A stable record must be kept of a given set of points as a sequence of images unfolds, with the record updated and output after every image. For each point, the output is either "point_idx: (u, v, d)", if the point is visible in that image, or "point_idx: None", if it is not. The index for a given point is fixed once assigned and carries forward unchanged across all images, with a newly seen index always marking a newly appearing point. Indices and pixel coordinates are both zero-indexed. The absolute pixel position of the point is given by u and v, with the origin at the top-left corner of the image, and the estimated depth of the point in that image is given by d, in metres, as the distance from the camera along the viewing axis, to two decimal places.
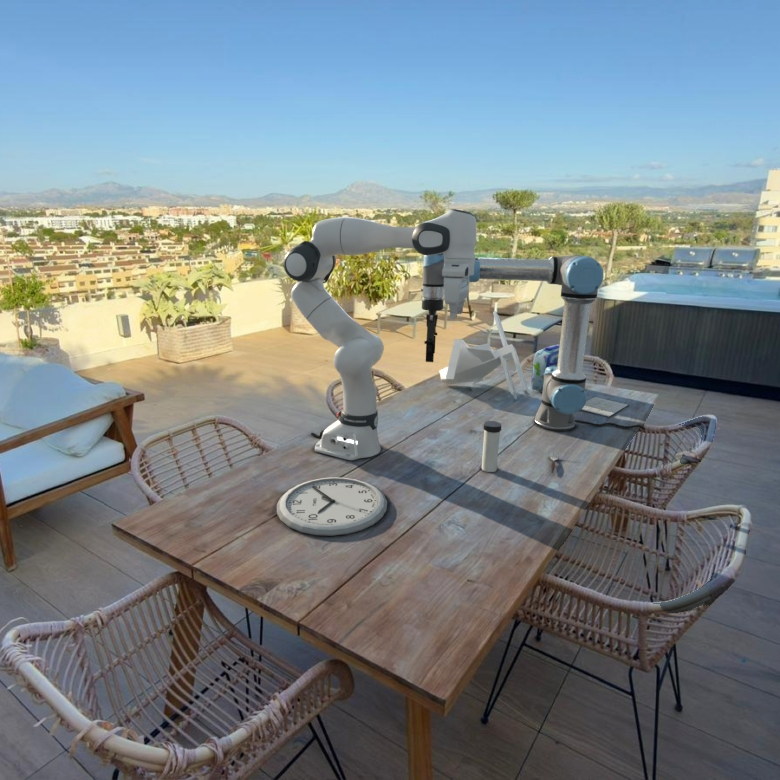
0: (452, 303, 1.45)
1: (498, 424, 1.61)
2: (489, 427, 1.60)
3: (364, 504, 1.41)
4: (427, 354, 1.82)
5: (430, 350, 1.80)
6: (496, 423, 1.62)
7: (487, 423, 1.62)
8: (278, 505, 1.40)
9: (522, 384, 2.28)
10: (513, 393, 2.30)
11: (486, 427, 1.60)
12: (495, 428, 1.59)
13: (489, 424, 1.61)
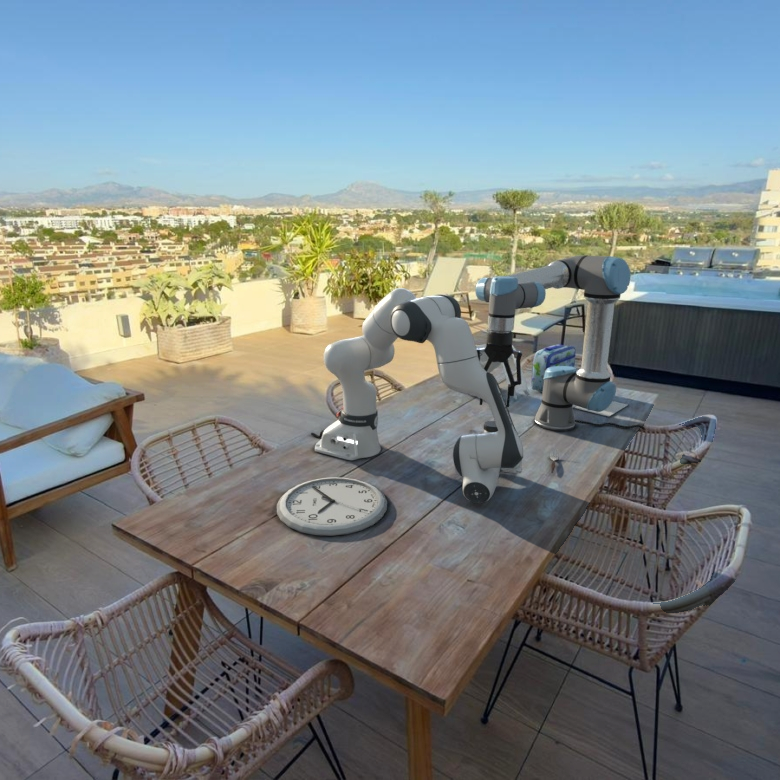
0: None
1: None
2: (489, 427, 1.60)
3: (364, 504, 1.41)
4: None
5: None
6: None
7: (487, 423, 1.62)
8: (278, 505, 1.40)
9: (522, 384, 2.28)
10: None
11: (486, 427, 1.60)
12: (495, 428, 1.59)
13: (489, 424, 1.61)
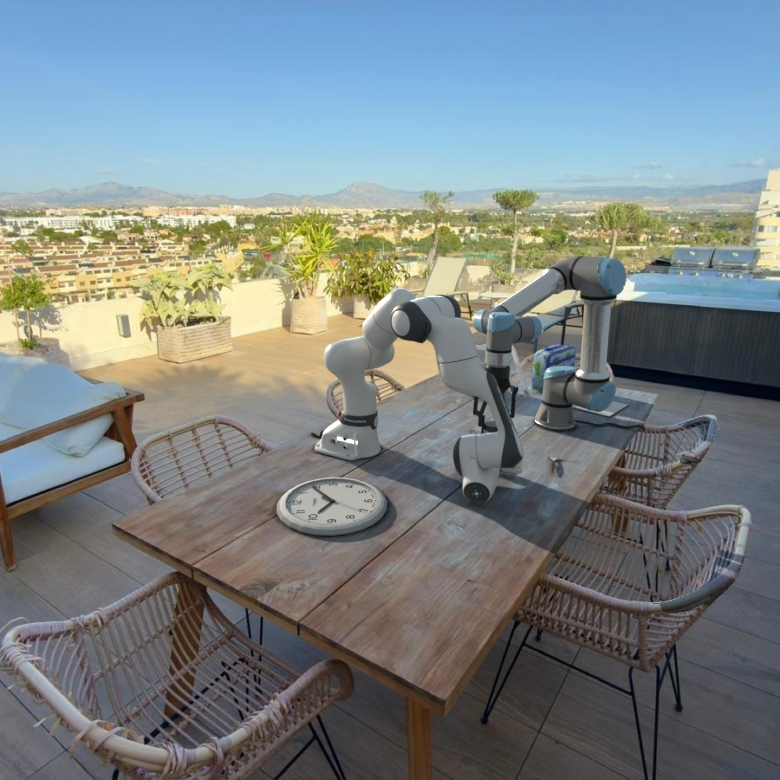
0: None
1: None
2: (489, 427, 1.60)
3: (364, 504, 1.41)
4: None
5: (478, 422, 1.62)
6: None
7: (487, 423, 1.62)
8: (278, 505, 1.40)
9: (522, 384, 2.28)
10: None
11: (486, 427, 1.60)
12: (495, 428, 1.59)
13: (489, 424, 1.61)
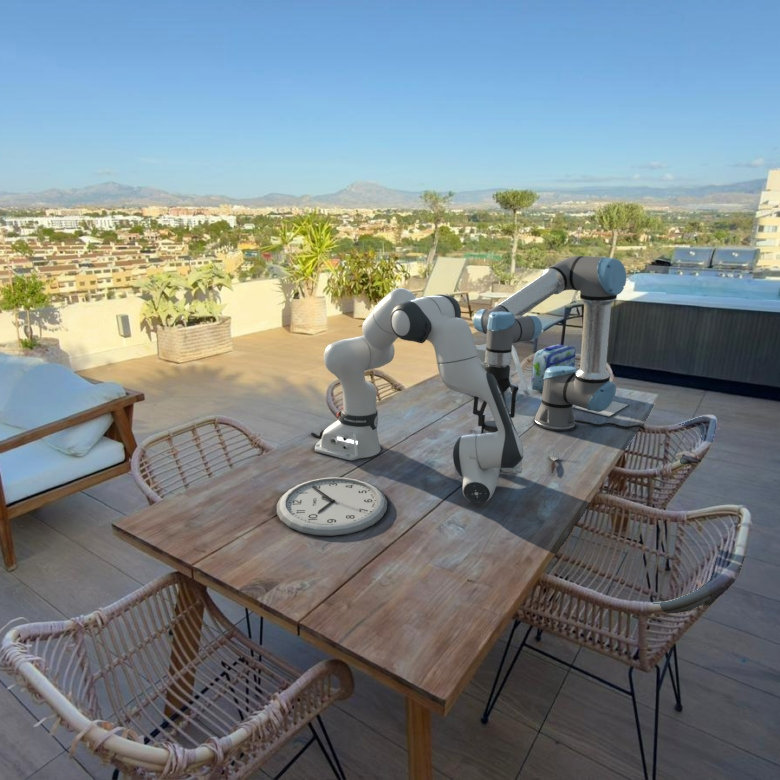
0: None
1: (489, 421, 1.63)
2: None
3: (364, 504, 1.41)
4: None
5: (478, 422, 1.62)
6: (488, 422, 1.62)
7: None
8: (278, 505, 1.40)
9: (522, 384, 2.28)
10: None
11: None
12: None
13: None
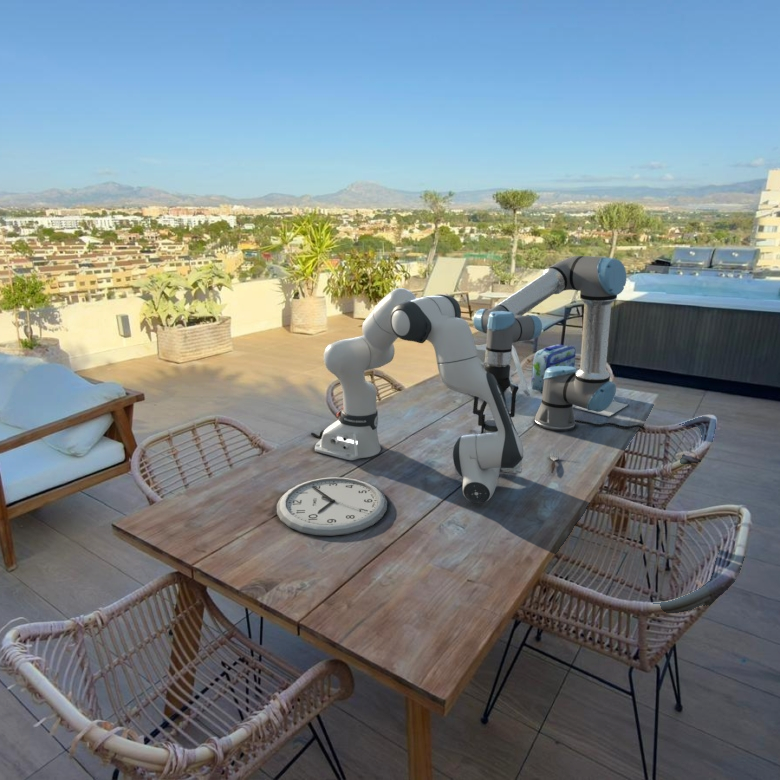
0: None
1: (491, 424, 1.60)
2: None
3: (364, 504, 1.41)
4: None
5: (478, 421, 1.62)
6: (494, 424, 1.60)
7: (493, 421, 1.63)
8: (278, 505, 1.40)
9: (522, 384, 2.28)
10: None
11: None
12: (484, 424, 1.62)
13: (491, 421, 1.63)
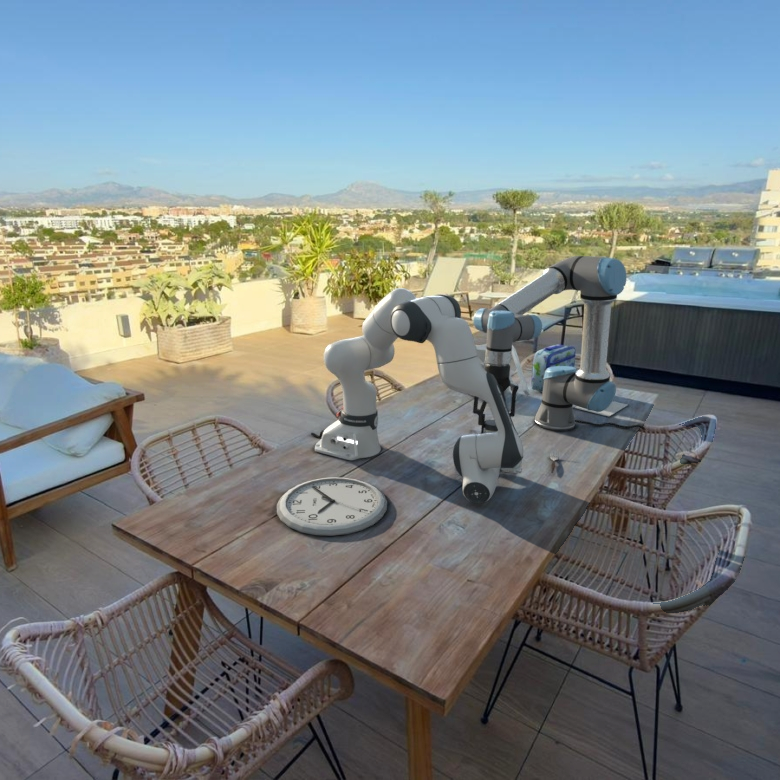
0: None
1: None
2: (493, 426, 1.59)
3: (364, 504, 1.41)
4: None
5: (478, 421, 1.62)
6: None
7: (488, 423, 1.61)
8: (278, 505, 1.40)
9: (522, 384, 2.28)
10: None
11: (489, 427, 1.59)
12: None
13: (490, 423, 1.61)
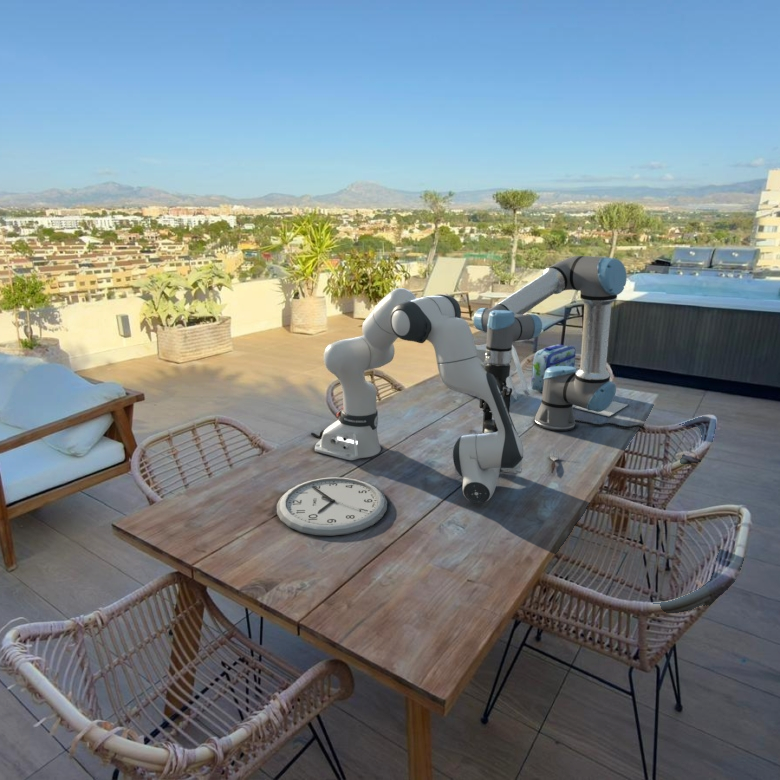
0: None
1: (488, 420, 1.63)
2: None
3: (364, 504, 1.41)
4: (496, 431, 1.59)
5: None
6: (488, 421, 1.62)
7: None
8: (278, 505, 1.40)
9: (522, 384, 2.28)
10: (513, 393, 2.30)
11: None
12: None
13: None
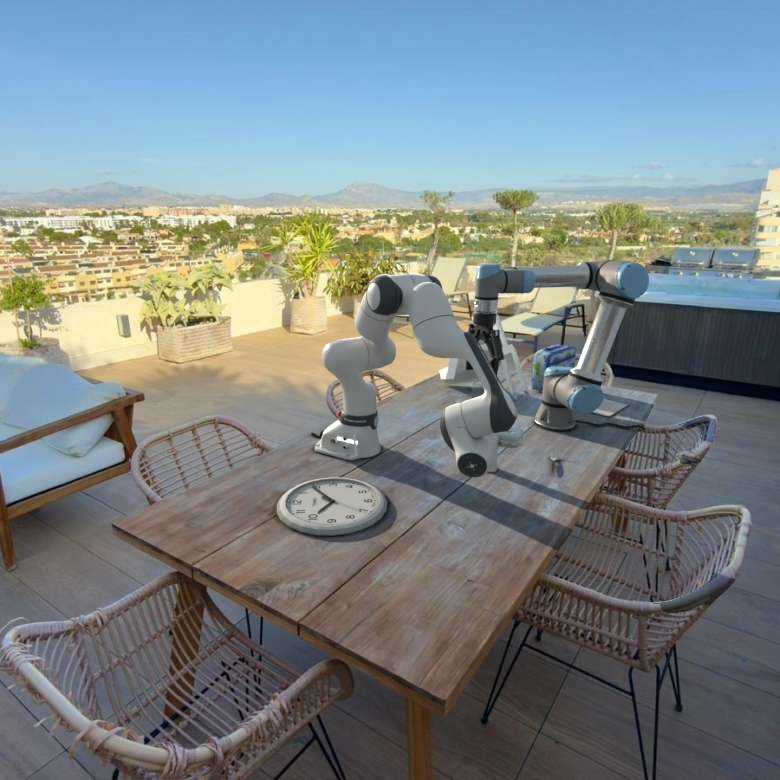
0: None
1: None
2: None
3: (364, 504, 1.41)
4: None
5: (497, 367, 1.69)
6: None
7: None
8: (278, 505, 1.40)
9: (522, 384, 2.28)
10: (513, 393, 2.30)
11: None
12: None
13: None
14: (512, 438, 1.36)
